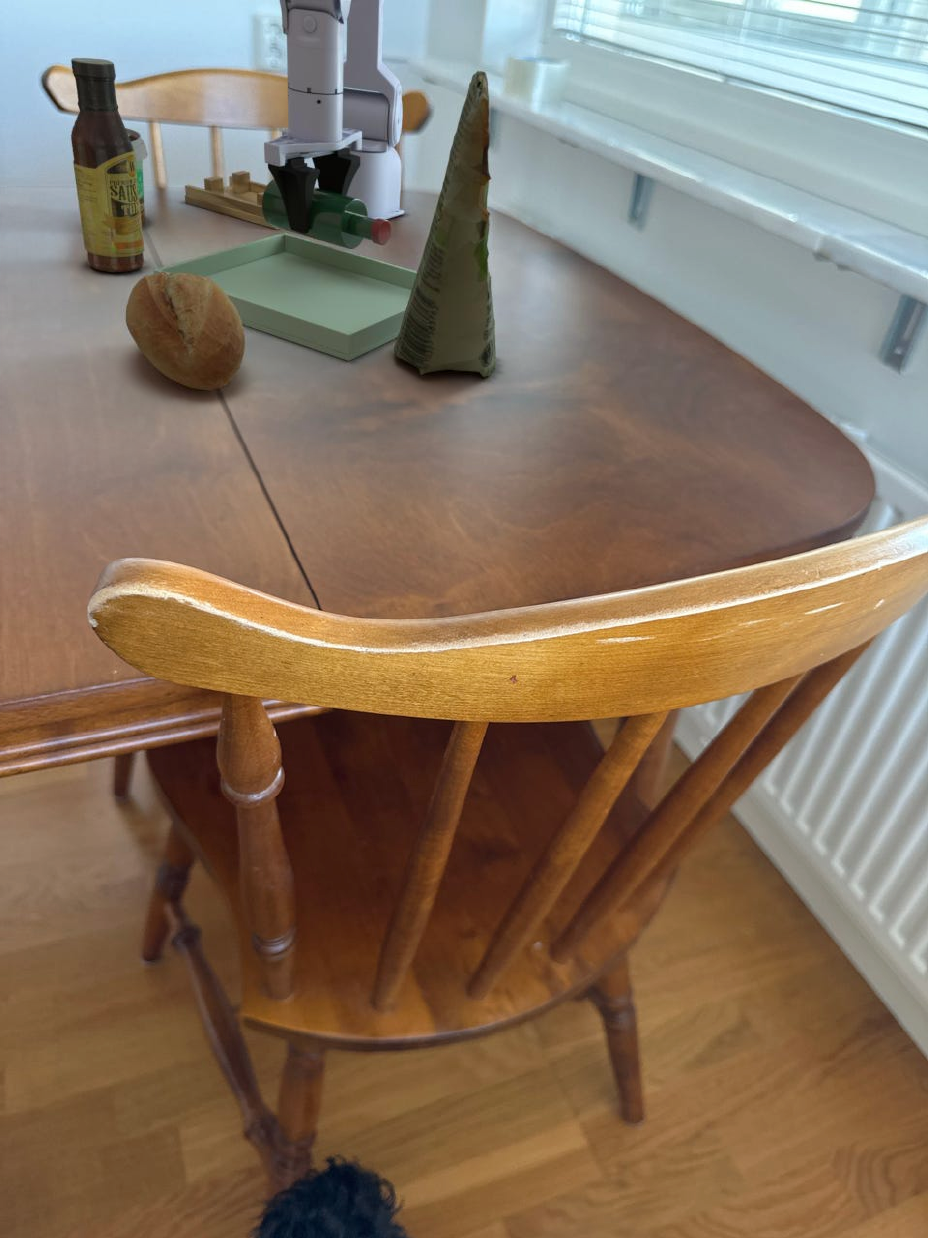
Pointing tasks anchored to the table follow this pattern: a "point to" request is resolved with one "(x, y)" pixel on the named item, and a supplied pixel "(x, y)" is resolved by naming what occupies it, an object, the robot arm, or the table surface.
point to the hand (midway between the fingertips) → (315, 226)
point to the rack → (230, 197)
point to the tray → (309, 292)
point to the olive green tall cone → (456, 259)
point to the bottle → (329, 218)
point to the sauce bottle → (105, 172)
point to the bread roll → (186, 329)
